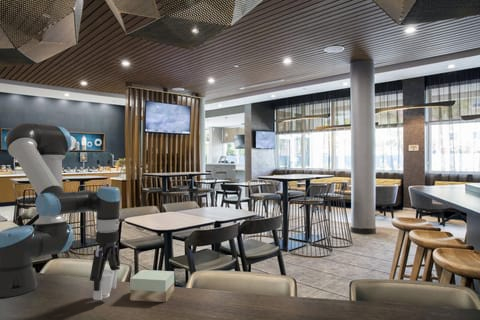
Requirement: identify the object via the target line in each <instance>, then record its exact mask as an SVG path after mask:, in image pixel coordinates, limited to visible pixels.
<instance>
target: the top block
mask: <svg viewBox="0 0 480 320" xmlns="http://www.w3.org/2000/svg"><path fill="white" fill-rule="evenodd" d="M129 279H130V283H129V284H130V285H129V291H131V290H144V291H162V292H166V291H167V289H168V288H169V287H170V286H171V285H172V284H173V283H174V284H175V271H172V270H168V271H167V270H154V269H153V270H152V269H151V270H150V269H141V270H140V271H138V272H137V273H136V274H134V275H133V276H132V277H130V278H129Z"/></svg>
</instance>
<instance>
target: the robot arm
mask: <svg viewBox="0 0 480 320" xmlns="http://www.w3.org/2000/svg"><path fill="white" fill-rule="evenodd" d="M4 141H5V142H4V144H5V149H6V150H7V152H8V154H9V155H10V156H11V157H13V158H15V159H16V161H17V163H18V165H19V166H20V168H21V169H22V172H23V173H24V175H25V176H26V178H27V180H28V181H29V183H30V184H31V186H32V188H33V190H34V191H35V193H36V200H35V203H34V205H35V208H36V209H35V211H36V212H37V214H38V216H39V217H38V220H37V221H35V223H34V226H33V225H27V224H26V225H19V226H18V225H17V226H13V227H9V228H6V229H3V230H1V231H0V298H10V297H16V296H21V295H23V294H24V295H25V294H27V293H30V292H32V291H35V289H36V288H37V287H38V280H37V278H36V274H35V271H34V268H33V259H37V258H42V257H45V256H50V255H58V254H60V253H64V252H66V251H68V250H69V249H70V247H71V246H72V244H73V242H74V229H73V227H72V225H71V224H69V223H68V220H67V219H66V218H65V216H64V215H69V214H79V213H86V212H87V213H88V212H92V213H96V222H95V223H96V225H95V231H96V232H95V242H96V243H97V244H99V247H98V249H94V250H93V259H92V265H91V271H90V276H89V280H90V281H91V282H93V293H92V295H93V297H92V299H93V300H94V301H102V300H103V298H102V287H103V280H101V279H102V275H103V271H104V270H105V267H106V264H107V263H108V265H109V270H112V271H114V277H113V282H112V287H111V289H117V275H118V271H119V270H120V268H121V267H120V266H121V260H120V251H119V250H120V249H119V245H120V242H119V236H120V235H119V226H120V222H121V221H120V206H121V204H120V203H121V195H120V194H121V191H120V188H119V187H116V186H100V187H98V188H97V191H96V190H91V189H89V190H87V189H84V190H81V191H68V192H67V191H65V190H64V189H63V160H64V159H65V158H66V154H68V153H69V152H70V151H71V148H72V144H73V142H72V137H71V134H70V132H69V131H68V130H67V129H66V128H64V127H62V126H58V125H52V124H51V125H50V124H44V123H43V124H42V123H41V124H40V123H33V122H21V123H19V124H16V125H14V126H13V127H12V128H10V130H8V132H7V134H6V136H5V139H4ZM107 261H108V262H107Z"/></svg>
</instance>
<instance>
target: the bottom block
mask: <svg viewBox="0 0 480 320" xmlns="http://www.w3.org/2000/svg"><path fill="white" fill-rule="evenodd" d="M129 291H130V293H129V294H130V297H129V299H130V300H129V301H136V302H137V301H138V302H141V301H142V302H161V303H162V302H163V303H167V302H168V300H169V299H170V297H171V296H172V294H173V293H174V292H175V282H174V283H173V284H172V285H171V286H170V287H169V288H168V289H167V291H166V292H162V291H144V290H129Z"/></svg>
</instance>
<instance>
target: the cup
mask: <svg viewBox="0 0 480 320" xmlns="http://www.w3.org/2000/svg"><path fill="white" fill-rule="evenodd" d="M113 277H114V271H112V270H111V269H104V271H103V275H102V279H101V280H103V287H102V299H106V298H109V297H110V296H111V295H110V293H111V291H112V288H111V287H112V282H113Z"/></svg>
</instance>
